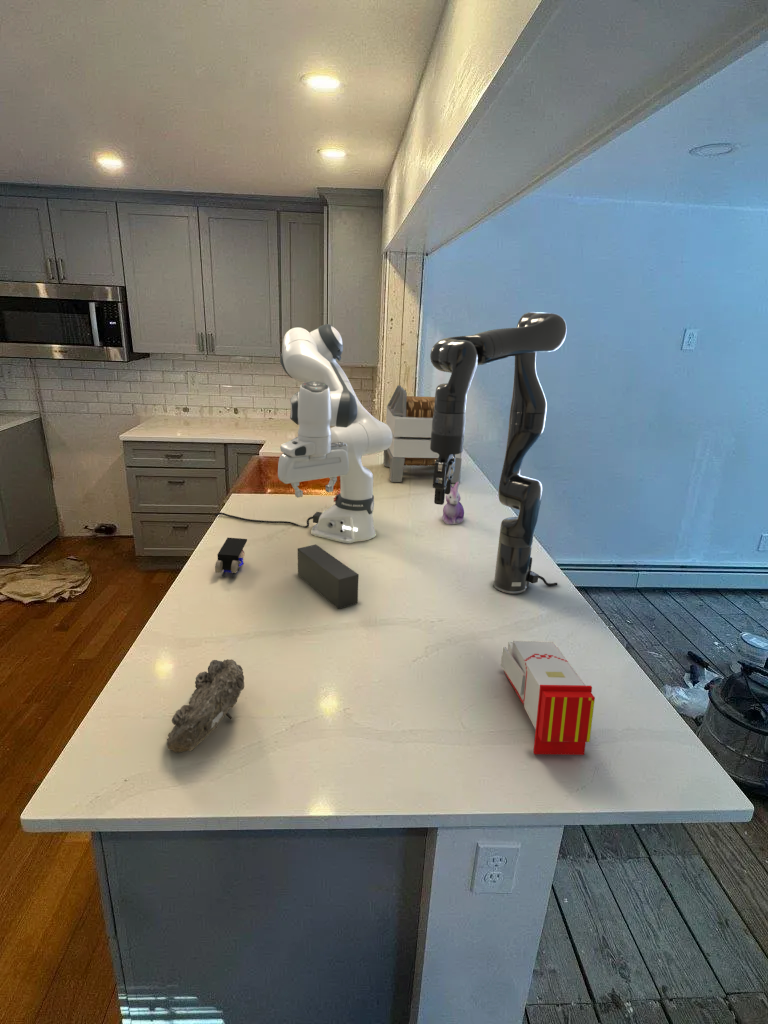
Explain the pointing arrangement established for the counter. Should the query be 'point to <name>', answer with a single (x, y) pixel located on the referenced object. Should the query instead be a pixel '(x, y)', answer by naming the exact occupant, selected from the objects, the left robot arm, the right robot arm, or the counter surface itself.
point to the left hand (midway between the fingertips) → (314, 494)
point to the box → (328, 576)
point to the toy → (550, 696)
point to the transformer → (411, 435)
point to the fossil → (206, 705)
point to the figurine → (453, 507)
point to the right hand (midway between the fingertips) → (442, 498)
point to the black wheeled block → (230, 556)
